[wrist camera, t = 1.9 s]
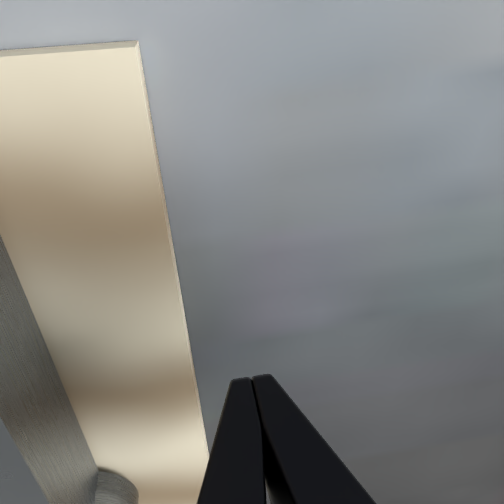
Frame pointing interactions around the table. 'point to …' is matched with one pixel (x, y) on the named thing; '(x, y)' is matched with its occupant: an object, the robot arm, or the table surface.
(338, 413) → the table surface
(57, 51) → the dial board
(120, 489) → the grey long bar
